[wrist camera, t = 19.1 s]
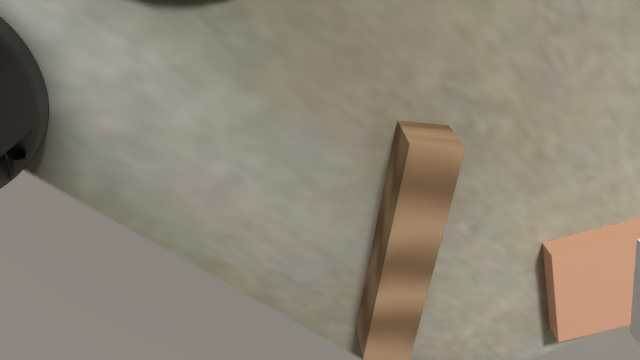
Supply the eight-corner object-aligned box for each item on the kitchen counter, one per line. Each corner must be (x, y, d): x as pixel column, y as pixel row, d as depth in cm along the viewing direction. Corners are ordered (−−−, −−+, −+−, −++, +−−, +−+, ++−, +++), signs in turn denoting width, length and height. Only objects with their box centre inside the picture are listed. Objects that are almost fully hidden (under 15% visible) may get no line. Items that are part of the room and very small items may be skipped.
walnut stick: (397, 119, 45) (409, 143, 41) (448, 124, 45) (465, 148, 41) (355, 323, 54) (362, 360, 50) (398, 325, 54) (409, 362, 50)
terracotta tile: (551, 255, 49) (558, 342, 54) (671, 225, 49) (668, 315, 53) (540, 239, 51) (548, 325, 56) (655, 210, 51) (653, 299, 55)
